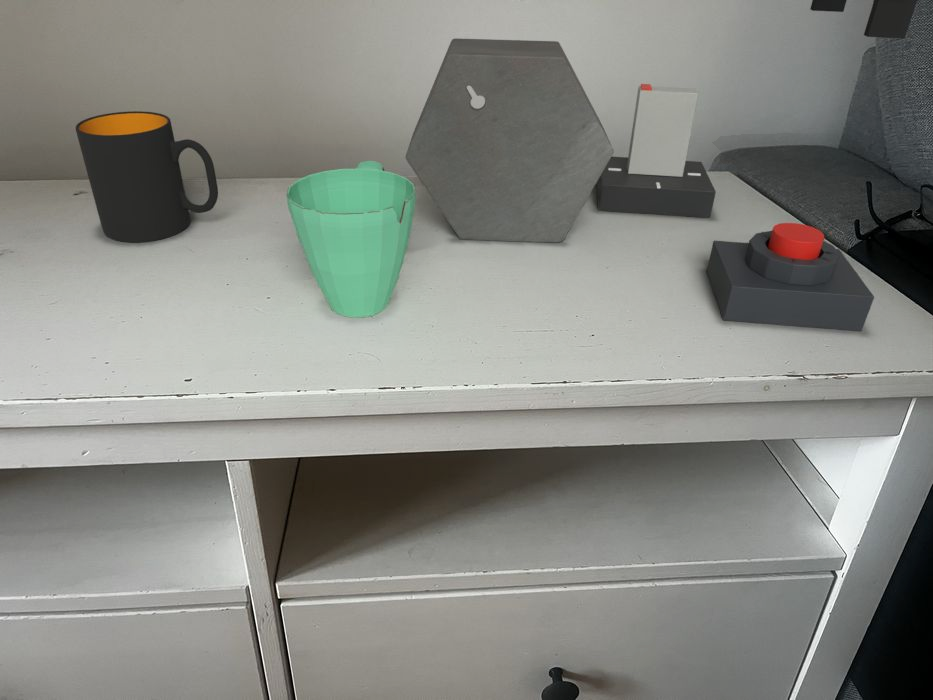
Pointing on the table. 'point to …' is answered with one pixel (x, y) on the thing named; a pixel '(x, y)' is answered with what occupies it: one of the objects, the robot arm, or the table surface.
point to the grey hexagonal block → (509, 141)
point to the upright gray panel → (661, 130)
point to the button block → (787, 286)
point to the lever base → (655, 191)
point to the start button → (796, 241)
